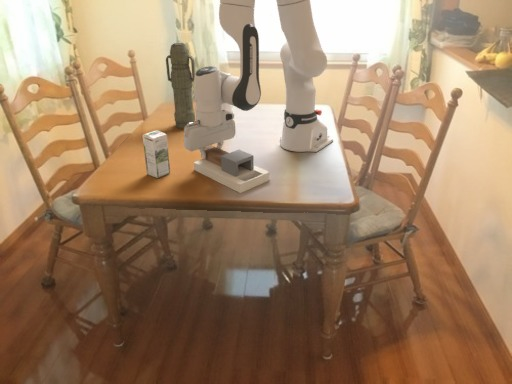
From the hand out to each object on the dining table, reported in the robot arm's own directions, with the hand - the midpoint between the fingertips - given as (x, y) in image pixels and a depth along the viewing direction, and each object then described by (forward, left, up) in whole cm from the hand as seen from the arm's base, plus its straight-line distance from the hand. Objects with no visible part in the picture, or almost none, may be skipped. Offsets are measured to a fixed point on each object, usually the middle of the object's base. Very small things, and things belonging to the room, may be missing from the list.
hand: (211, 155), depth 149 cm
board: (0, +10, -4) cm, 11 cm away
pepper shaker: (-30, -28, -4) cm, 41 cm away
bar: (0, +5, -1) cm, 5 cm away
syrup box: (+17, -8, -4) cm, 19 cm away
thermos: (-19, -43, -4) cm, 47 cm away
